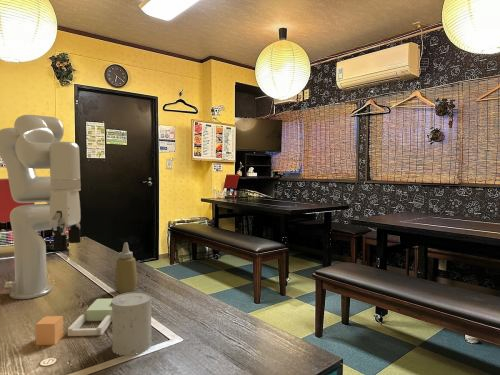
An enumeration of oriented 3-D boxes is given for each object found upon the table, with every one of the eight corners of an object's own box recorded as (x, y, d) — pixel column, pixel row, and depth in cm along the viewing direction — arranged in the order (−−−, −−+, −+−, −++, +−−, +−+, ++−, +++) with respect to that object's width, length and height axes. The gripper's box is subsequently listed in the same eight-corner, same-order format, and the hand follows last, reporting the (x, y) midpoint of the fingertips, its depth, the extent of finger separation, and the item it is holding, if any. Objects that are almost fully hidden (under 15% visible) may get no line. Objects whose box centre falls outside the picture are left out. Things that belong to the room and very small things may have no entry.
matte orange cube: (36, 345, 88) (35, 324, 88) (45, 336, 93) (44, 316, 92) (55, 344, 88) (54, 323, 88) (63, 336, 93) (62, 316, 93)
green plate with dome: (67, 336, 93) (67, 322, 93) (92, 308, 111) (92, 297, 110) (126, 334, 94) (126, 320, 94) (141, 307, 112) (141, 296, 112)
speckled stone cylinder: (118, 337, 93) (117, 292, 92) (154, 336, 93) (154, 291, 93) (106, 356, 83) (106, 306, 82) (147, 355, 84) (147, 305, 83)
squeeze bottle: (130, 296, 121) (129, 245, 120) (109, 294, 123) (109, 244, 122) (142, 288, 129) (141, 241, 128) (122, 286, 131) (121, 239, 130)
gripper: (64, 185, 106) (66, 241, 107) (36, 187, 89) (38, 253, 89) (90, 185, 107) (92, 240, 107) (67, 186, 90) (69, 252, 90)
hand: (67, 246), depth 98 cm, fingers open, 9 cm apart
